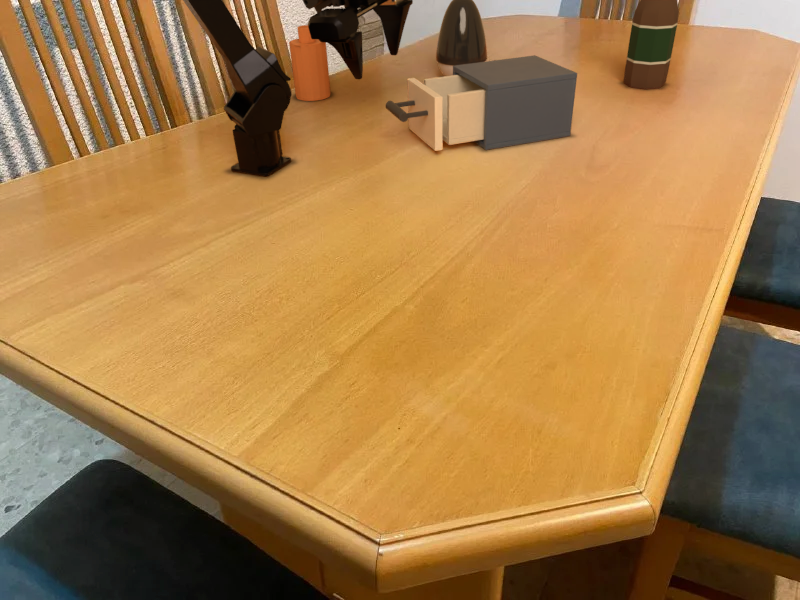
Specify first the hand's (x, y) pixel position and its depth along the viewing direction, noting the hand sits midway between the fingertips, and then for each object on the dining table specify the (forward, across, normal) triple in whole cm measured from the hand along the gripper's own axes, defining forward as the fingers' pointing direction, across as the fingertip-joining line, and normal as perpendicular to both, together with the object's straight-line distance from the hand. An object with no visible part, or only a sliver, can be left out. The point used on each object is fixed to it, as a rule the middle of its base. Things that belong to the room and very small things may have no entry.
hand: (376, 66), depth 95 cm
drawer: (+12, -3, +9) cm, 15 cm away
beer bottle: (+21, -47, +25) cm, 57 cm away
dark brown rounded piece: (+17, -36, -8) cm, 40 cm away
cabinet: (+14, -11, +15) cm, 24 cm away
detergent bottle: (+11, -12, -27) cm, 31 cm away
